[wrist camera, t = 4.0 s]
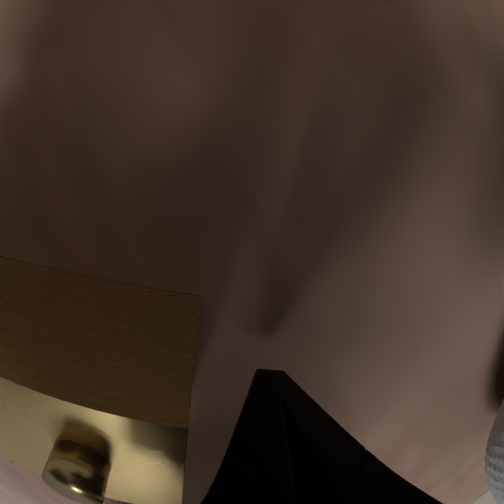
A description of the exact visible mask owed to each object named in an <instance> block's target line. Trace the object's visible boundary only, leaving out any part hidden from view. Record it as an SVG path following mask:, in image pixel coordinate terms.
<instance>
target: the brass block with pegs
mask: <svg viewBox="0 0 504 504" xmlns="http://www.w3.org/2000/svg"><path fill="white" fill-rule="evenodd" d="M201 301H202V297H200V296H194V295H187V294H181V293H175V292H169V291H163V290H157V289H151V288H146V287H140V286H134V285H129V284H124V283H118V282H113V281H108V280H103V279H98V278H93V277H88V276H83V275H78V274H73V273H69V272H64V271H59V270H55V269H50V268H46V267H41V266H37V265H33V264H28V263H24V262H20V261H16V260H12V259H8V258H4V257H0V457H2V458H4V459H6V460H8V461H10V462H12V463H14V464H16V465H19V466H21V467H23V468H25V469H27V470H30V471H32V472H34V473H36V474H39V475H41V476H42V478H43V480H44V481H45V482H46V484H47V485H49V486H50V487H51V488H52V489H54V490H55V491H56V492H58V493H60V494H61V495H63V496H65V497H67V498H69V499H71V500H74V501H76V502H79V503H83V504H102V503H103V500H104V497H107V498H110V499H114V500H119V501H123V502H127V503H132V504H182V492H183V480H184V469H185V458H186V448H187V438H188V428H189V415H190V404H191V393H192V382H193V372H194V362H195V353H196V344H197V335H198V326H199V318H200V310H201Z"/></svg>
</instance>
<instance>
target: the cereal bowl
mask: <svg viewBox="0 0 504 504" xmlns="http://www.w3.org/2000/svg"><path fill="white" fill-rule="evenodd" d="M485 473H486V478H487V483H488V487H489V489H490V491H491V493H492V495H493V498H494V499H495V501H496V503H497V504H504V399H503V401H502V405H501V407H500V408H499V410H498V413H497V417H496V418H495V420H494V423H493V427H492V428H491V431H490V436H489V438H488V443H487V448H486V456H485Z"/></svg>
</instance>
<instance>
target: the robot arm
mask: <svg viewBox="0 0 504 504" xmlns="http://www.w3.org/2000/svg"><path fill="white" fill-rule="evenodd" d="M200 504H443V503H441V502H439V501H438V500H436V499H435V498H433V497H431V496H430V495H428V494H427V493H425V492H423V491H422V490H420V489H419V488H417V487H416V486H414V485H412V484H411V483H409V482H408V481H406V480H405V479H404V478H402V477H401V476H399V475H398V474H396V473H395V472H394V471H392V470H391V469H390V468H388V467H387V466H386V465H385V464H384V463H382V462H381V461H380V460H379V459H377V458H376V457H375V456H374V455H373V454H372V453H371V452H369V451H368V450H365V447H364V446H362V445H361V444H360V443H359V442H358V441H357V440H356V439H355V438H354V437H352V436H351V435H350V434H349V433H348V432H347V431H346V430H345V429H344V428H343V427H342V426H340V425H339V424H338V423H337V422H336V421H335V420H334V419H333V418H332V417H331V416H330V415H329V414H328V413H327V412H325V411H324V410H323V409H322V408H321V407H320V406H319V405H318V404H317V403H316V402H315V401H314V400H313V399H312V398H311V397H310V396H309V395H308V394H307V393H306V392H305V391H304V390H303V389H302V388H301V387H300V386H298V385H297V384H296V383H295V382H294V381H293V380H292V379H291V378H290V377H289V376H288V375H287V374H286V373H285V372H284V371H280V370H267V369H257V370H256V371H255V374H254V377H253V380H252V383H251V385H250V388H249V391H248V394H247V397H246V399H245V402H244V405H243V408H242V410H241V413H240V416H239V418H238V421H237V424H236V427H235V429H234V432H233V435H232V437H231V440H230V442H229V445H228V448H227V450H226V453H225V455H224V458H223V460H222V463H221V465H220V468H219V470H218V472H217V474H216V476H215V479H214V481H213V483H212V485H211V486H210V488H209V490H208V491H207V493H206V495H205V496H204V498H203V500H202V501H201V503H200Z"/></svg>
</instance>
